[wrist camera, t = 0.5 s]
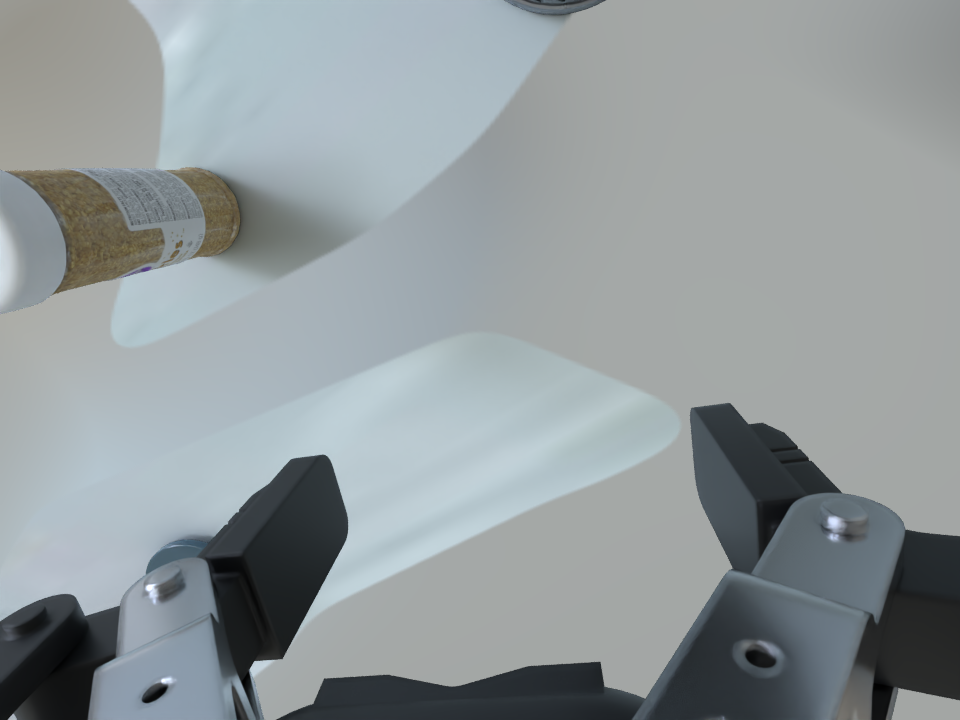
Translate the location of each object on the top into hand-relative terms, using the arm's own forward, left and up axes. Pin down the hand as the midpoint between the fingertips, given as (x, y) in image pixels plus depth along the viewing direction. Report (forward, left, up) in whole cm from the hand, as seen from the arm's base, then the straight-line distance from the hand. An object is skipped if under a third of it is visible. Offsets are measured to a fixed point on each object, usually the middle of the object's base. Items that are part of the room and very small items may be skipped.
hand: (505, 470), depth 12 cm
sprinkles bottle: (-7, -16, -18) cm, 25 cm away
